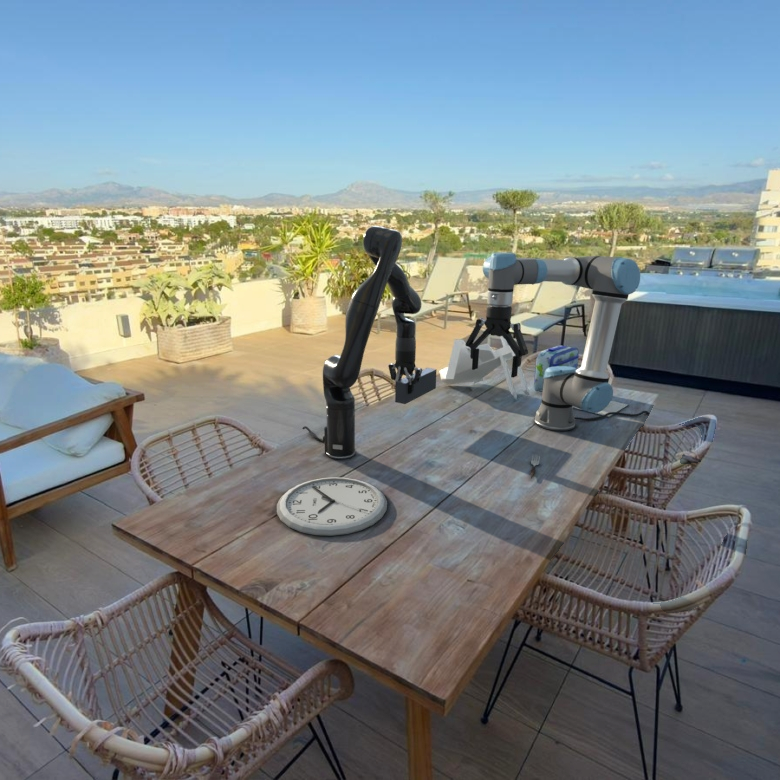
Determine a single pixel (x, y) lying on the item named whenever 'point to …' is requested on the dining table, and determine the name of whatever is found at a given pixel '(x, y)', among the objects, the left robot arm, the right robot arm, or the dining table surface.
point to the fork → (534, 465)
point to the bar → (415, 386)
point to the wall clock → (331, 506)
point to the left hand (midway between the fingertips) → (404, 392)
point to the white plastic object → (480, 365)
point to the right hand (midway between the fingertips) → (494, 372)
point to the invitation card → (611, 408)
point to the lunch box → (554, 362)
